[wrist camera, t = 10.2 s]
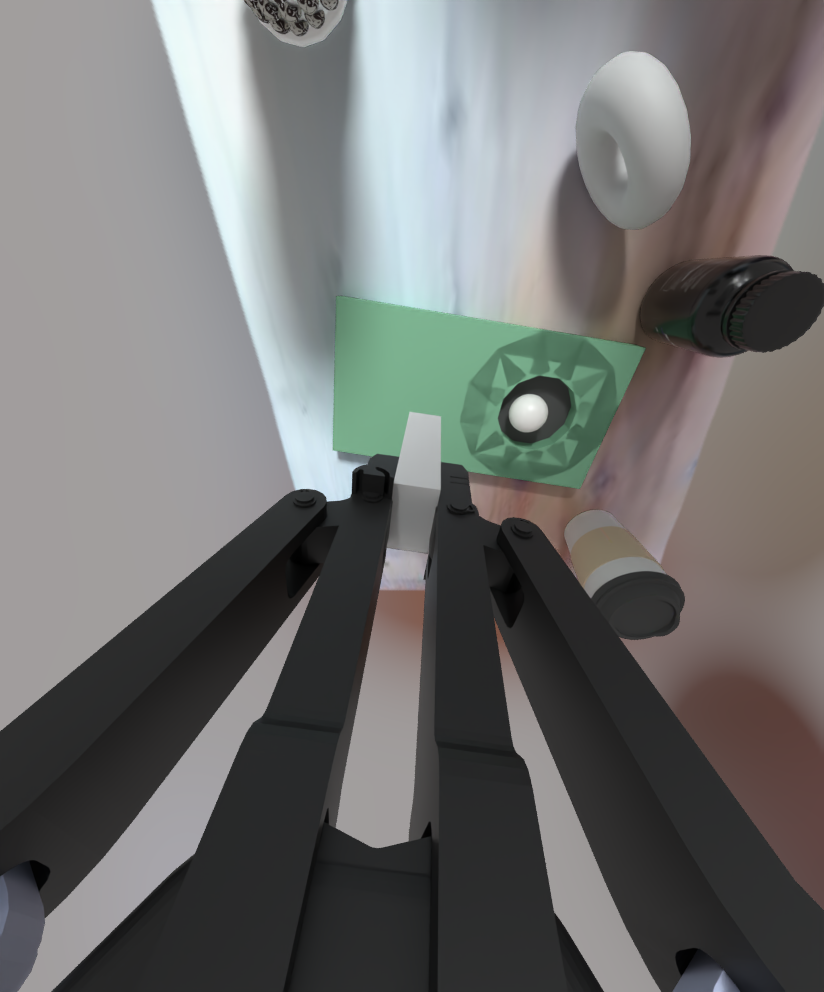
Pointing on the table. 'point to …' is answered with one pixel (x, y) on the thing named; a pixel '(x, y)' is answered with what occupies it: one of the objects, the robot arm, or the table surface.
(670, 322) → the supplement bottle
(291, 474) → the table surface
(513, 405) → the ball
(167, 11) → the table surface
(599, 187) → the donut
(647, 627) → the coffee cup
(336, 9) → the decorative candle
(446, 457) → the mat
